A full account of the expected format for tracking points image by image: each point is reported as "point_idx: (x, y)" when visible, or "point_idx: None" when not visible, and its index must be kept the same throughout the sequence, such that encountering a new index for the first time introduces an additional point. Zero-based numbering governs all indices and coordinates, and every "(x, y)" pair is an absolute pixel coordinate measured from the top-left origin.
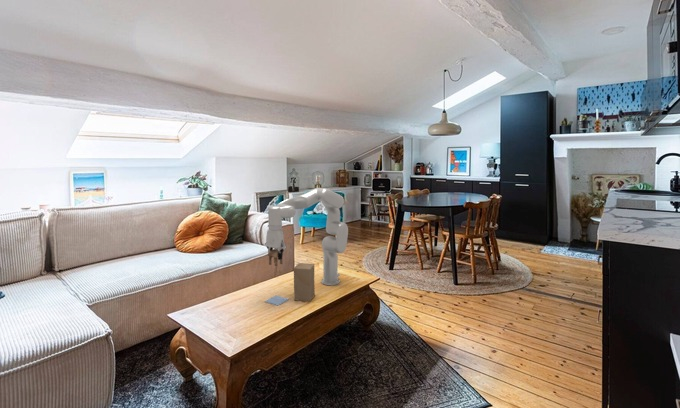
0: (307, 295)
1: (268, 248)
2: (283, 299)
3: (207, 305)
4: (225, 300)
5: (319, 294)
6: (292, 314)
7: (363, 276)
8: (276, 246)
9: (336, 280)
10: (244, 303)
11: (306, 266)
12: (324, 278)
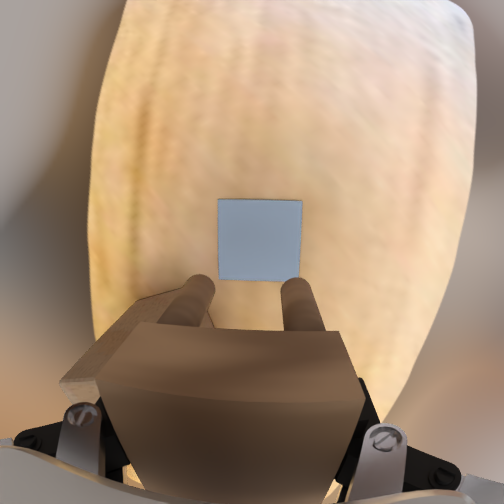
0: (132, 308)
1: (400, 464)
2: (235, 261)
3: (461, 84)
4: (450, 142)
5: None
6: (118, 170)
7: None
8: (21, 489)
9: None
10: (371, 147)
11: None
12: None
